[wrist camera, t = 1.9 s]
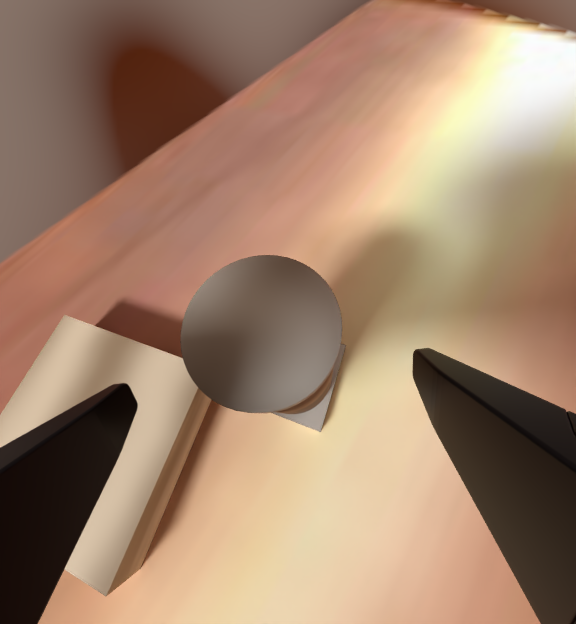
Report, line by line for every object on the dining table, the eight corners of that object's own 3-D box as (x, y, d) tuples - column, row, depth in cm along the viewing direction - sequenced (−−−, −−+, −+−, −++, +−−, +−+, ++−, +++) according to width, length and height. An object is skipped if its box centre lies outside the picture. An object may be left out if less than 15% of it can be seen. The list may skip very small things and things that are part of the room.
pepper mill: (345, 349, 18) (365, 273, 9) (320, 431, 16) (313, 447, 7) (271, 326, 19) (219, 238, 10) (241, 400, 18) (147, 379, 8)
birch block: (224, 374, 19) (207, 367, 16) (145, 564, 15) (106, 596, 13) (98, 328, 21) (64, 314, 18) (7, 482, 18) (-51, 494, 15)
